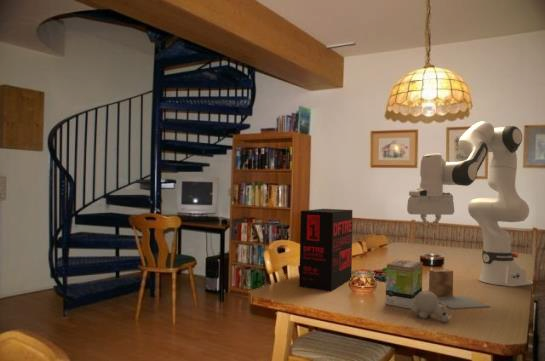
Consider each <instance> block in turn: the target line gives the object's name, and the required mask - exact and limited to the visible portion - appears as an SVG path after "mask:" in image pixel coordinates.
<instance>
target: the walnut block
mask: <svg viewBox="0 0 545 361" xmlns="http://www.w3.org/2000/svg"><path fill="white" fill-rule="evenodd" d="M428 291H430V292H432V293H434V294H435V295H436V296H437V297H447V296H454V270H450V269H447V268H446V269H440V268H439V269H429V270H428Z"/></svg>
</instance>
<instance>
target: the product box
mask: <svg viewBox="0 0 545 361" xmlns="http://www.w3.org/2000/svg"><path fill="white" fill-rule="evenodd" d="M299 232H300V233H299V236H300V237H299V239H300V240H299V284H298V287H299V288H304V289H311V290H318V291H319V290H320V291H325V292H333V291H334V290H336V289H338V288H340V287H341V286H343V285H344V284H346V283H348V282H349V281H351V280H350V278H351V279H352V270H353V269H352V266H353V264H352V263H353V262H352V261H353V260H352V256H353V209H338V208H336V209H335V208H316V209H307V210H306V209H305V210H300V230H299Z"/></svg>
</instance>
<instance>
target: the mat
mask: <svg viewBox="0 0 545 361" xmlns="http://www.w3.org/2000/svg"><path fill="white" fill-rule="evenodd" d="M437 298H438V301H439V304H441V305H448V306H447V309H450V310H461V309H463V310H464V309H478V308H491V305H489V304H486V303H484V302H481V301H479V300H476V299H473V298H471V297H468V296H466V295H453V296H447V297H437Z"/></svg>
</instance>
